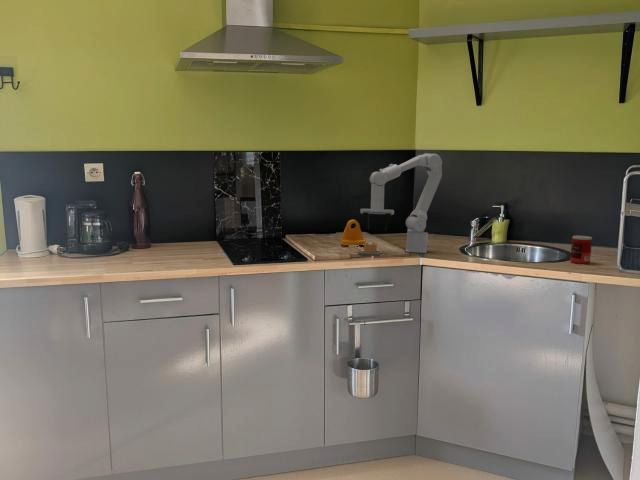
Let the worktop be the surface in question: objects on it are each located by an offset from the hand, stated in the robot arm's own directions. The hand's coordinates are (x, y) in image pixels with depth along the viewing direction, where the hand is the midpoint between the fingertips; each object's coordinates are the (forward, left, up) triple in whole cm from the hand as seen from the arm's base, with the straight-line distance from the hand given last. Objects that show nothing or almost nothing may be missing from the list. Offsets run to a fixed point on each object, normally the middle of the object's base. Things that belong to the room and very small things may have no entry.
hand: (376, 230), depth 271 cm
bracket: (+13, -13, -10) cm, 21 cm away
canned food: (-85, -5, -10) cm, 86 cm away
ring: (+2, +5, -9) cm, 10 cm away
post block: (+2, +5, -10) cm, 11 cm away
